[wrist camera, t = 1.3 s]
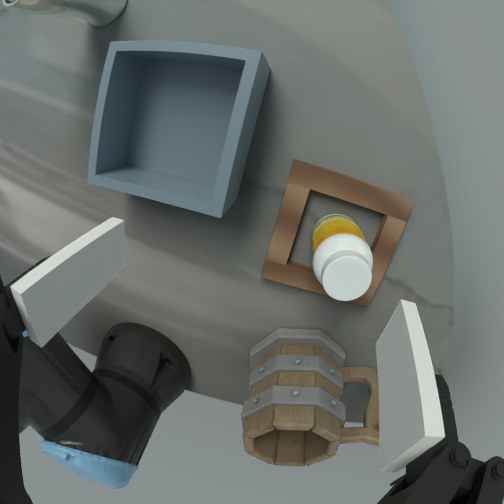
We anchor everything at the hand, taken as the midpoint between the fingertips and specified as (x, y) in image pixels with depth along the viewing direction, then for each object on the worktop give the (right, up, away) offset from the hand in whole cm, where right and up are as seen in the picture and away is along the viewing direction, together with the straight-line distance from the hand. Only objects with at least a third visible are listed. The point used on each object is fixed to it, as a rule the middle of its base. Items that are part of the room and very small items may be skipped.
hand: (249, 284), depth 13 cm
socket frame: (+9, +3, +18) cm, 20 cm away
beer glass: (-18, +32, +10) cm, 37 cm away
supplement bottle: (+9, +3, +18) cm, 20 cm away
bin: (-6, +15, +15) cm, 22 cm away
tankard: (+10, -14, +25) cm, 31 cm away
